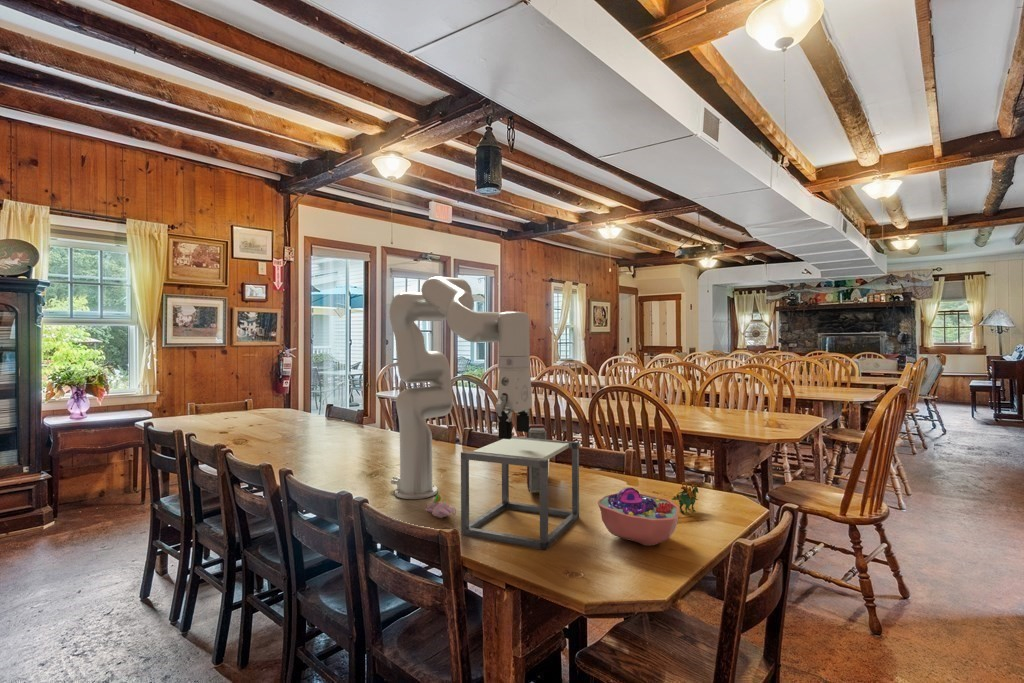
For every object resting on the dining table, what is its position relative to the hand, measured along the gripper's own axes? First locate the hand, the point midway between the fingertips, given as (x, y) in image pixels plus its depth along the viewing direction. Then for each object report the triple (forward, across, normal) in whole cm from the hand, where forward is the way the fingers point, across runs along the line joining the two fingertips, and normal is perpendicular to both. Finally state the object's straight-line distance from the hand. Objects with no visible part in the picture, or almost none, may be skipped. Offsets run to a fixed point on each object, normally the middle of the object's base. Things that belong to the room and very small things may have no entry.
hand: (514, 434), depth 126 cm
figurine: (+24, +32, -35) cm, 53 cm away
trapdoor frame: (+23, +4, 0) cm, 24 cm away
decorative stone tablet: (+24, +40, +11) cm, 47 cm away
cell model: (+24, +8, -28) cm, 37 cm away
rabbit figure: (+24, +2, +22) cm, 33 cm away
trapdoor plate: (+5, +5, 0) cm, 7 cm away
